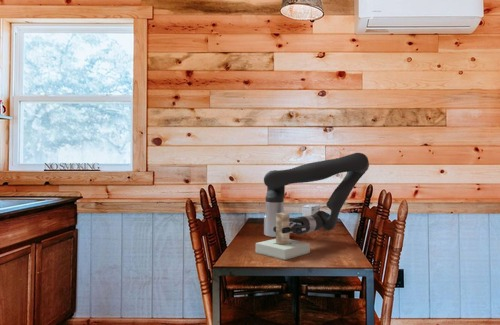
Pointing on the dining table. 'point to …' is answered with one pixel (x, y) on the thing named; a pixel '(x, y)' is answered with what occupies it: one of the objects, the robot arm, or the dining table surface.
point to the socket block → (282, 249)
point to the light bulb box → (310, 209)
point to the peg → (281, 222)
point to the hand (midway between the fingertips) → (278, 230)
